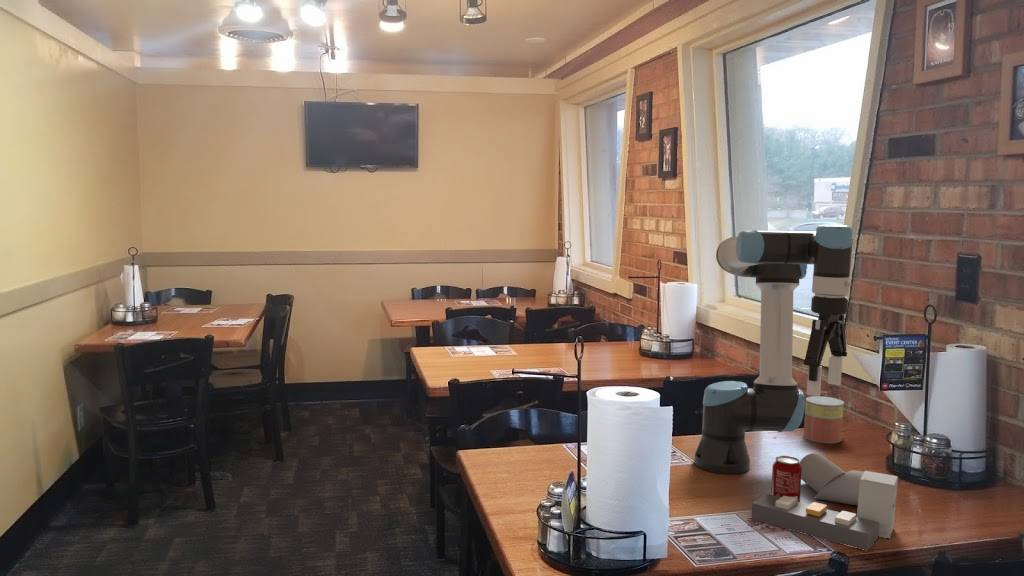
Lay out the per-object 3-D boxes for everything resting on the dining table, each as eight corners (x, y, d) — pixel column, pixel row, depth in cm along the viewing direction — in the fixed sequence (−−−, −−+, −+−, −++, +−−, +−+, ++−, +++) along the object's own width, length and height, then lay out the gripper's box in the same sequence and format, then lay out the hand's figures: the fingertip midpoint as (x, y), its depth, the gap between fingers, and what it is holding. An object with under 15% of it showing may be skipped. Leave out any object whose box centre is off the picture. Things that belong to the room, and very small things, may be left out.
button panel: (751, 519, 191) (752, 497, 191) (764, 509, 197) (765, 488, 197) (866, 551, 175) (868, 528, 174) (877, 539, 181) (879, 517, 180)
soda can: (801, 513, 195) (804, 464, 194) (771, 510, 197) (774, 462, 195) (797, 502, 202) (800, 456, 201) (768, 500, 203) (771, 453, 202)
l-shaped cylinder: (791, 497, 202) (879, 512, 194) (794, 454, 203) (882, 467, 195) (797, 490, 218) (879, 503, 210) (800, 450, 219) (882, 462, 211)
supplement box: (890, 540, 181) (894, 485, 180) (854, 532, 185) (858, 478, 183) (894, 528, 187) (898, 475, 186) (860, 521, 191) (864, 469, 190)
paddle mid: (805, 513, 184) (805, 508, 184) (813, 506, 188) (813, 501, 188) (819, 516, 183) (819, 511, 182) (826, 510, 186) (826, 505, 186)
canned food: (842, 435, 259) (844, 398, 258) (840, 445, 249) (843, 407, 248) (804, 430, 264) (807, 394, 262) (801, 440, 254) (804, 402, 252)
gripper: (828, 302, 167) (821, 403, 170) (865, 292, 187) (858, 382, 189) (792, 298, 172) (786, 396, 175) (831, 289, 191) (826, 377, 194)
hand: (824, 389), depth 182 cm, fingers open, 13 cm apart
